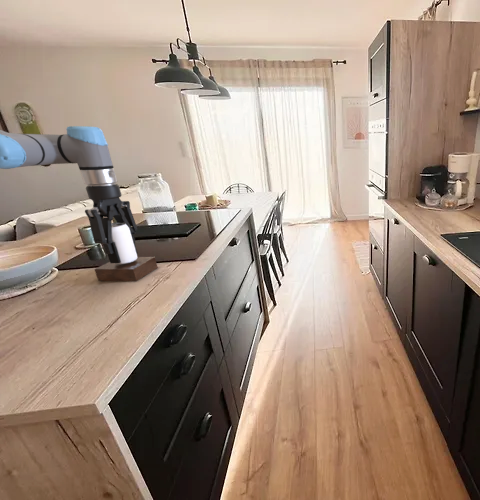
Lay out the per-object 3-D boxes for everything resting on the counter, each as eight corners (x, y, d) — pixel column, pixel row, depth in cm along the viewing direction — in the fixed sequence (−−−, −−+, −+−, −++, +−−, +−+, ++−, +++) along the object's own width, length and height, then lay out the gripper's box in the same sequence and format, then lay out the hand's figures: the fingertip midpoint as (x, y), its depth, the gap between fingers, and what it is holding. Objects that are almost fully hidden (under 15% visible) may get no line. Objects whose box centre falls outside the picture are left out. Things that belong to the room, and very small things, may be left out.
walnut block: (98, 280, 88) (94, 269, 87) (123, 267, 97) (119, 256, 96) (136, 281, 88) (133, 269, 86) (157, 267, 97) (154, 256, 96)
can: (118, 266, 87) (106, 228, 83) (109, 262, 90) (97, 225, 86) (141, 259, 92) (131, 223, 88) (132, 255, 95) (122, 220, 91)
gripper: (84, 189, 73) (111, 271, 82) (138, 180, 92) (156, 247, 100) (56, 189, 74) (86, 271, 82) (115, 180, 92) (135, 247, 100)
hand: (124, 258), depth 91 cm, fingers closed on can, 6 cm apart
